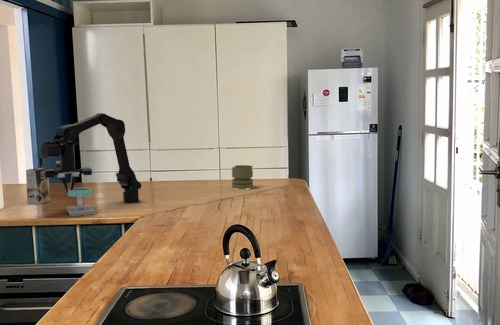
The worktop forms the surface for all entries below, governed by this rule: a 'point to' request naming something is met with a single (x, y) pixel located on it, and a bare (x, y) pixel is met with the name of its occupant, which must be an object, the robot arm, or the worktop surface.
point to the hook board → (79, 212)
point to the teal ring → (80, 192)
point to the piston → (242, 176)
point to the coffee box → (37, 186)
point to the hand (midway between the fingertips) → (69, 192)
